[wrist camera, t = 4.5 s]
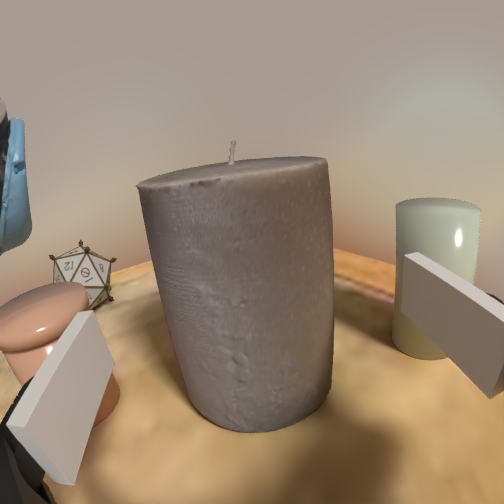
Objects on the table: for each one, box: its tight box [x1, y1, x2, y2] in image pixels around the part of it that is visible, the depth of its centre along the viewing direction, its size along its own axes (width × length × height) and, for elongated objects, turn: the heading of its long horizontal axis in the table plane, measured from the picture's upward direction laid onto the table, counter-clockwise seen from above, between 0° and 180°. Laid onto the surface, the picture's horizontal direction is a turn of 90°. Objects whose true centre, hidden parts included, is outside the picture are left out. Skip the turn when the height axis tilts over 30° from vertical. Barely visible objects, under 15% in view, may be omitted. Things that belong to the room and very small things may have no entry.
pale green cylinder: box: [392, 198, 481, 360], centre depth 20 cm, size 6×6×10 cm
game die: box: [49, 240, 117, 311], centre depth 33 cm, size 9×8×10 cm
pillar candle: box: [136, 140, 334, 433], centre depth 18 cm, size 10×10×15 cm
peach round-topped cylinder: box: [0, 281, 120, 427], centre depth 18 cm, size 8×8×8 cm
